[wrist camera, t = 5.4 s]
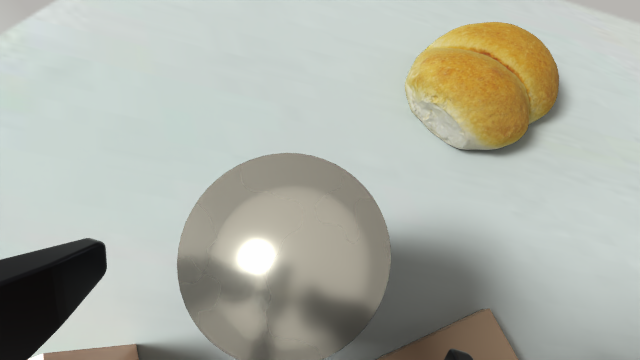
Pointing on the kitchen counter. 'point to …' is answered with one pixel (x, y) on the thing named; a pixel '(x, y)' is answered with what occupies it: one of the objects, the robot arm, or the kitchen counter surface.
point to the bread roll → (482, 85)
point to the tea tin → (284, 259)
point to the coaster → (460, 341)
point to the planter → (93, 354)
